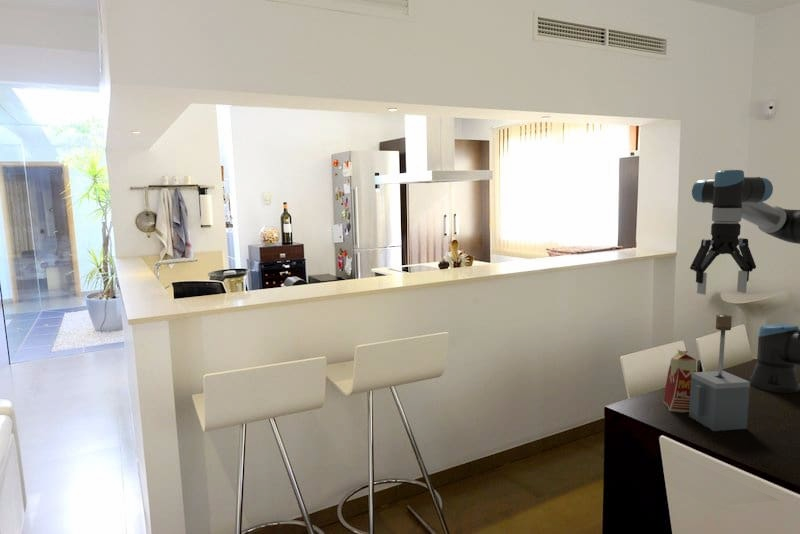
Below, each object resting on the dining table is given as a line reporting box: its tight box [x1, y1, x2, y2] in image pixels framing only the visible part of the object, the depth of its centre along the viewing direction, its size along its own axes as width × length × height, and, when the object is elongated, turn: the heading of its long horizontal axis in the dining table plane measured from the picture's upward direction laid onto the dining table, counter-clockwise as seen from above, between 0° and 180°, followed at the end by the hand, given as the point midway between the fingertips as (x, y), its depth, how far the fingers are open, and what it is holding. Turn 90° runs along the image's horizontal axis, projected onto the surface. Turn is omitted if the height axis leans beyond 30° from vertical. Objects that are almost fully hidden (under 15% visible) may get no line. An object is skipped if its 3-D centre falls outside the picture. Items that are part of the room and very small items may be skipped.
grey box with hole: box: [688, 370, 751, 432], centre depth 168 cm, size 13×11×14 cm
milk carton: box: [663, 349, 697, 413], centre depth 181 cm, size 9×9×20 cm
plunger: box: [715, 314, 733, 378], centre depth 167 cm, size 8×8×24 cm
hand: (721, 293), depth 166 cm, fingers open, 13 cm apart
